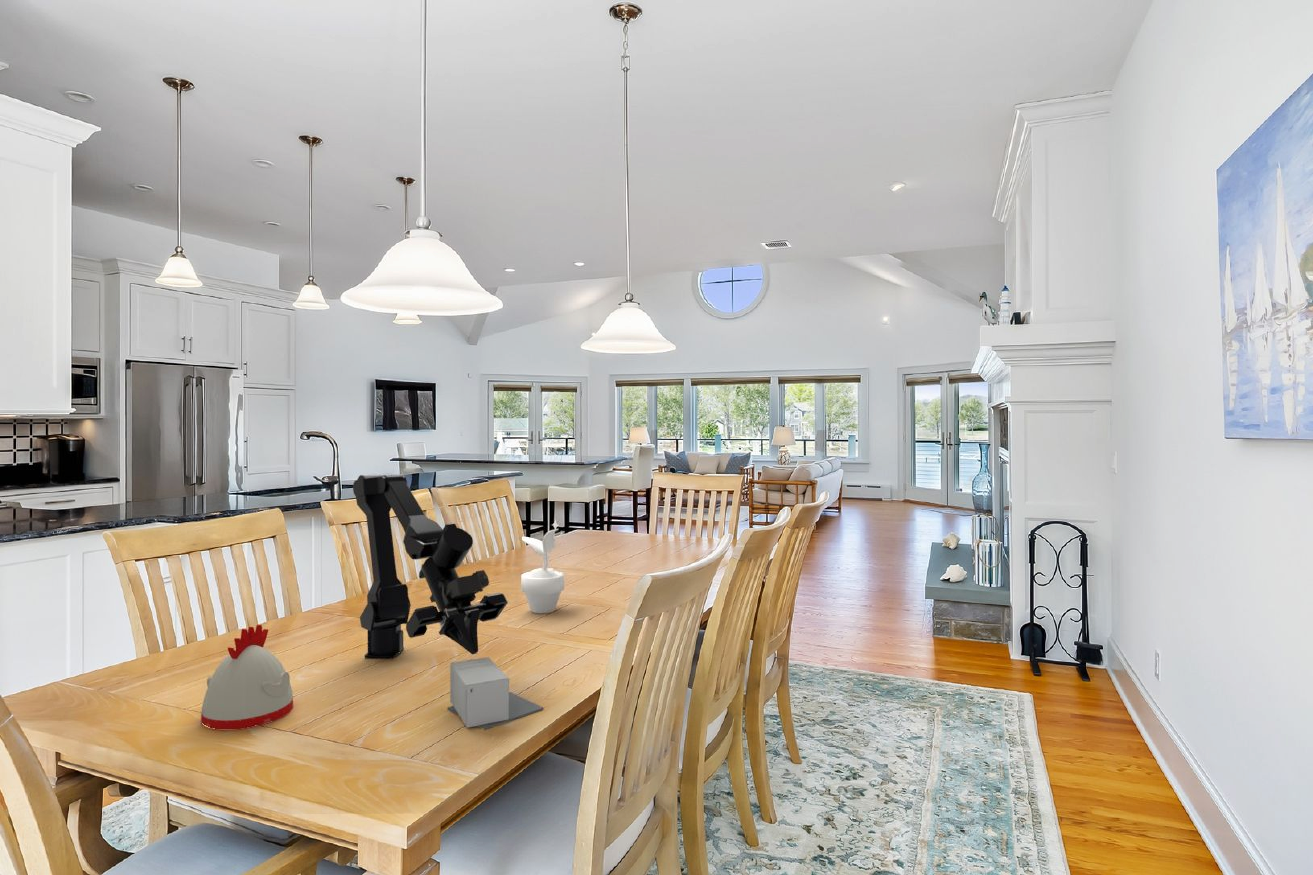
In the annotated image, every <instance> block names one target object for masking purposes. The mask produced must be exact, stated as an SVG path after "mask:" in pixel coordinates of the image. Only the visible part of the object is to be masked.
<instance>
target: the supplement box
mask: <svg viewBox="0 0 1313 875" xmlns="http://www.w3.org/2000/svg"><path fill="white" fill-rule="evenodd" d="M449 665H450V668H449V680H450V682H449V683H450V684H449V685H450V687H449V688H450V689H449V691H450V693H449V696H450V697H449V701H450V703H451V706H453V707H454V708H455V710H456V711H457V713H458V714H459V715H458V716H459V718H461V720H462V722H463V724H464V725H465V726H466V728H473V727H479V725H484V724H489V723H494V722H499V721H504V720H508V719H509V692H510V678H509V677H508V676H507V675H506V674H505V673H504V672H503V671H502V669H501V668H500V667H498V665H497V664H496V663H495V662H494V661H493V660H492V659H491V658H490V657H489V656H487V657H480V658H476V659H475V658H474V659H467V660H462V661H454V662H450V663H449Z"/></svg>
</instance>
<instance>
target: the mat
mask: <svg viewBox="0 0 1313 875" xmlns="http://www.w3.org/2000/svg"><path fill="white" fill-rule="evenodd" d="M544 708H545V707H543V706H541V705H539V704H537V703H535V702H533V701H530V700H528V699H526V698H524V697H522V696H520V695H518V694H516V693H513V692H510V691H509V719H508V720H504V721H499V722H494V723H489V724H484V725H479V726H478V727H479V728H480V729H483V730H484V729H485V730H488V729H491V728H493V726H494V727H497V726H500V725H502V724H506V723H508V722H511V721H514V720H517V719H519V717H520V718H522V717H526V716H528V715H531V714H534V713H537V712H539V711H543V710H545V709H544ZM542 709H543V710H542ZM447 710H448V711H450V712H452V713H454V714H455V715H457V716H459V714H458V713H457V711H456V710H455V708H454V707H453V705H451V706H449V707H448V706H447ZM525 715H526V716H525ZM516 718H517V719H516ZM496 725H497V726H496Z"/></svg>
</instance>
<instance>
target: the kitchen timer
mask: <svg viewBox="0 0 1313 875" xmlns="http://www.w3.org/2000/svg"><path fill="white" fill-rule="evenodd" d="M268 633H269V629H268V628H267V629H266V628H263V625H262V624H256V626H255V628H254V626H248V628H241V633H240V638H238V637H237V638H236V637H234V640H233V641H234V645H235V648H233V647H229V646H228V647H227V651H228V655H227V656H225V658H224V659H223V660H222V661H221V662H220V663H219V665H218V666H217V667H216V668H215V670H214V672H213V674H212V676H208V677H207V680H206V686H207V689H206V691H205V694H204V699H203V701H202V707H201V712H200V713H201V714H200V718H201V720H200V721H202V723H203V724H204V725H206V726H208V727H210V728H215V729H214V730H216V729H237V730H242V729H241V728H245V729H248V728H247V727H250V728H253V727H252V726H255V725H260V726H263V725H266V724H269V723H272V722H271V721H273V722H276V720H279V719H282V718H283V717H285V716H287V713H288V714H289V713H290V712H291V711H292V710H293V709H294V697H293V690H292V686H291V683H290V682H291V681H290V680H291V679H290V678H291V677H290V673H289V672H287V671H286V669H285V667H284V666H283V664H282V663H281V660H279V658H278V657H276V656H275V655H274V654H273V653H272V652H271V651H270V650H268V649H266V648H264V646H265V643H266V640H267V636H268ZM281 717H282V718H281ZM268 722H269V723H268ZM202 723H201V724H202ZM265 723H266V724H265ZM203 724H202V725H203ZM262 724H263V725H262ZM204 725H203V726H204ZM255 727H256V726H255ZM210 728H209V729H210Z"/></svg>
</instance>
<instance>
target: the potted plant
mask: <svg viewBox="0 0 1313 875" xmlns="http://www.w3.org/2000/svg"><path fill="white" fill-rule="evenodd" d="M551 526H553V528H554V529H551V530H549V531H547V532H546V533H545V534H544V535H543V538H542V541H541V540H540V539H537V538H534V537H528V536H521V537H522V538H521V541H522V542H524V543H525V544H526V545H528V546H530V547H531V548H532V550H534V551H535V553H537V555H539V556H543V557H542V558H543V559H542V567H539V568H535V569H532V570H531V571H526V572H525V573H523V574H522V573H521V578H520V579H521V586H520V587H521V592H522V593H524V594H525V597H526V600H527V604H528V606H529V610H530V612H532V613H535V614H541V615H543V614H550V613H552V612H554V611H555V610H556V608H557V605H558V601H559V599H560V596H561V593H562V591H565V574H564V572H561V571H557V570H554V568H553V567H548V566H549V559H550V556H549V553H551V552H552V551H553V550H554V548H555V544H556V538H557V537H556V536H555V533H556V532H558V531H559V528H557V527H558V526H560V524H558V523H557V518H555V521H554V523H553V524H551ZM559 535H560V536H561V537H562V536H563V535H564V533H563V531H562V530H560V533H559Z"/></svg>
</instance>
